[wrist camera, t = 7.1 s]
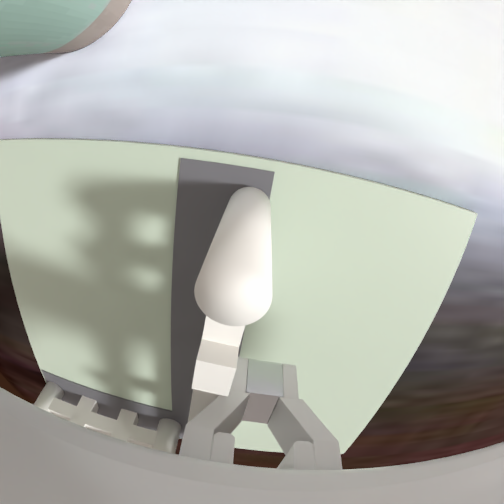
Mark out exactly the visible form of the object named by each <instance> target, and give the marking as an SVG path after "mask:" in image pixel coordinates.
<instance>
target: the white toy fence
mask: <svg viewBox="0 0 504 504" xmlns="http://www.w3.org/2000/svg"><path fill="white" fill-rule="evenodd" d="M194 294H195V299H196V302H197V304H198V306H199V308H200V309H201V310H202V312H203V313H204V314H205V315H206V319H205V325H204V330H203V335H202V340H201V344H200V348H199V351H198V355H197V359H196V364H195V370H194V376H193V383H192V389H193V393H192V399H191V405H190V411H189V417H188V422H190V421H191V420H192V419H193V418H194V417H195V416H197V415H198V414H199V413H200V412H201V411H202V410H204V409H205V408H206V407H207V406H208V405H209V404H210V403H211V402H213V401H214V400H215V399H216V398H217V397H218V396H219V395H222V396H227V397H228V395H229V391H230V388H231V385H232V382H233V378H234V375H235V372H236V369H237V361H238V352H239V346H240V342H241V339H242V336H243V332H244V329H245V325H248V324H251V323H254V322H256V321H257V320H259V319H260V318H262V317H263V316H264V315H265V314H266V312H267V311H268V309H269V308H270V305H271V302H272V240H271V204H270V201H269V198H268V197H267V195H266V194H265V193H264V192H263V191H261V190H260V189H258V188H255V187H244V188H241V189H239V190H237V191H236V192H235V193H234V194H233V195H232V196H231V198H230V200H229V202H228V205H227V207H226V209H225V212H224V214H223V216H222V219H221V221H220V224H219V226H218V228H217V231H216V233H215V236H214V238H213V241H212V243H211V245H210V248H209V250H208V253H207V255H206V258H205V260H204V263H203V265H202V268H201V270H200V273H199V275H198V278H197V280H196V283H195V288H194Z"/></svg>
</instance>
